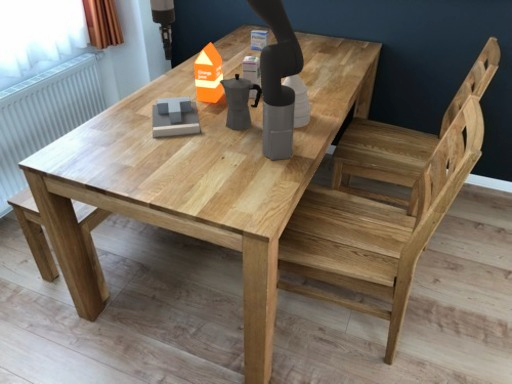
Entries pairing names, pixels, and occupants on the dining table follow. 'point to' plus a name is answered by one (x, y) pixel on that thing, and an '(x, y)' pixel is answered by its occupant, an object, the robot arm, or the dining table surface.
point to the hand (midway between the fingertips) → (168, 56)
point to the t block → (174, 107)
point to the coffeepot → (239, 101)
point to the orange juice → (208, 75)
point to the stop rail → (176, 130)
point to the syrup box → (251, 72)
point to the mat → (186, 117)
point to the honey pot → (299, 100)
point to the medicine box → (259, 39)
